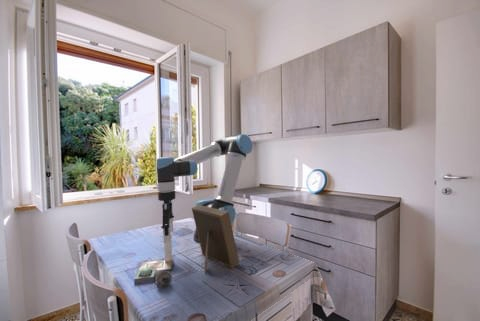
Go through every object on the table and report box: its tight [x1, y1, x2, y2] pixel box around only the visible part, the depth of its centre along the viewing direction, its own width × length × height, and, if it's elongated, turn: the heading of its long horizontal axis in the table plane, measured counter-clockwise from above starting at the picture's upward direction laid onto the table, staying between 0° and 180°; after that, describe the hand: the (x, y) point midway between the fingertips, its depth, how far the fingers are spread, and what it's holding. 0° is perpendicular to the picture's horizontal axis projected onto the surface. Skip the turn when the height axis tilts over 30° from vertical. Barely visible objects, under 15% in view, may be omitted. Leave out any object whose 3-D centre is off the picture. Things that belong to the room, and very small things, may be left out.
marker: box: [164, 233, 173, 263], centre depth 103 cm, size 3×3×12 cm
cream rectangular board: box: [136, 258, 174, 274], centre depth 99 cm, size 14×10×1 cm
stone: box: [154, 270, 173, 288], centre depth 87 cm, size 10×5×8 cm
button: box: [140, 267, 151, 277], centre depth 90 cm, size 4×4×3 cm
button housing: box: [133, 268, 156, 285], centre depth 90 cm, size 7×7×2 cm
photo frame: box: [191, 205, 240, 274], centre depth 102 cm, size 15×22×25 cm
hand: (168, 236), depth 103 cm, fingers open, 13 cm apart
